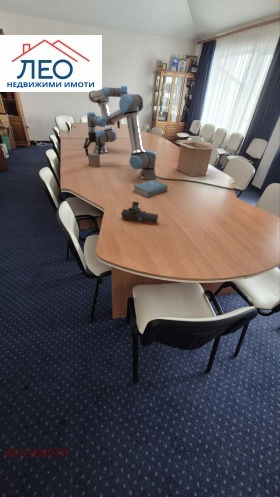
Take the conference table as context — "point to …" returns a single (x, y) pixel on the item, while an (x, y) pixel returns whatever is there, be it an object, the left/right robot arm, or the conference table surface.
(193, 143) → the box
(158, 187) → the book
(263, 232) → the conference table surface
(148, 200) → the conference table surface
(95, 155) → the block
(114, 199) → the conference table surface
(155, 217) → the laser sight
